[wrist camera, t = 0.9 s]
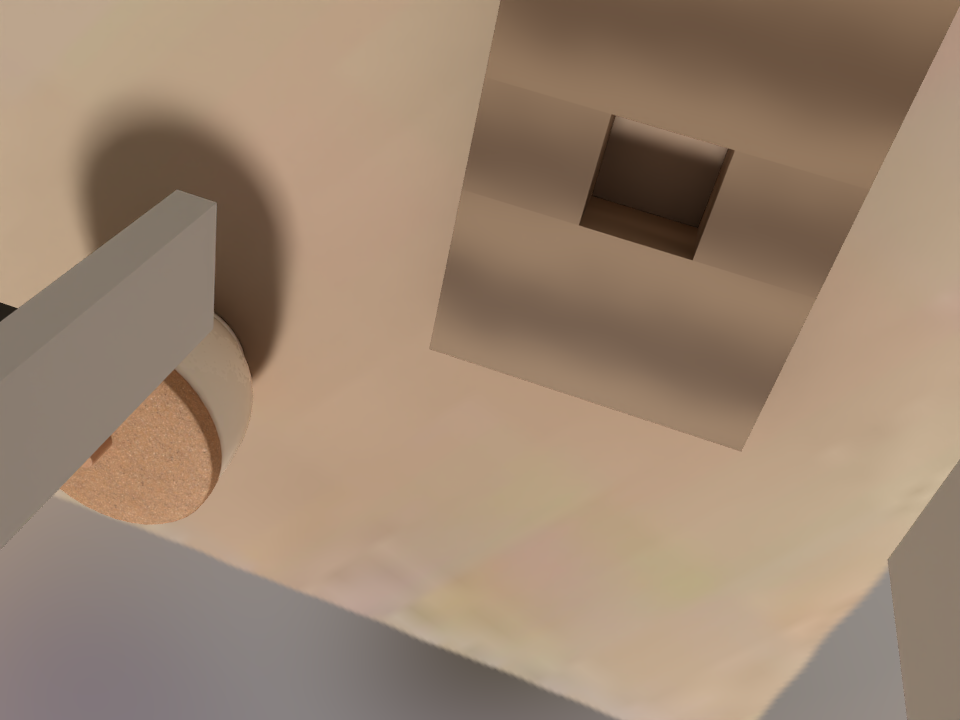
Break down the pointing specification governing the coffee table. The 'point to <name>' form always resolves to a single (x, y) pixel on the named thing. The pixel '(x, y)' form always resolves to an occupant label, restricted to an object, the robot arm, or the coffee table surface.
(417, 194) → the coffee table surface
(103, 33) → the coffee table surface
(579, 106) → the hole block
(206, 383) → the lidded jar
